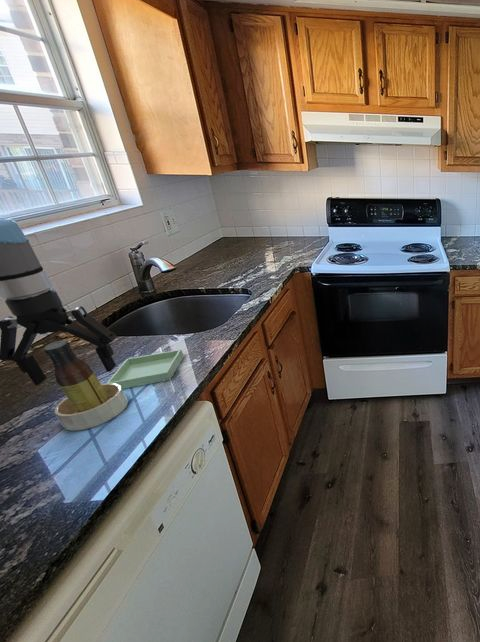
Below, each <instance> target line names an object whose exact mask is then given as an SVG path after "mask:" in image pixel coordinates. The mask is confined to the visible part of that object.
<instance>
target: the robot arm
mask: <svg viewBox="0 0 480 642" xmlns="http://www.w3.org/2000/svg"><path fill="white" fill-rule="evenodd" d="M52 287H53V284H52V282H51V280H50V278H49V277H48V274H47V273H46V271H45V269H44V267H43V266H42V264H41V262H40V260H39V258H38V256H37V254H36V252H35V251H34V249H33V247H32V245H31V243H30V239H29V238H28V237H27V236H26V235H25V233H24V232H23V230H22V228H21V227H20V225H19V223H17V221H15V220H13V219H12V218H7V217H5V218H4V217H2V218H1V217H0V297H1V298H3V299H5V301H4V303H5V305H6V306H7V308H8V310H9V311H10V312H11V314H12V315H13V316H15V317H13V316H11V315H9V316H8V315H7V316H6V317H4V318H3V319H1V320H0V361H1V362H6V361H12V362H15V364H16V366H17V367H18V368H19V370H20V371H21V372H22V373H25V374H27V375H28V377H29V378H30V379H31V381H32V382H33V385H34V386H38V385H39V386H40V385H41V384H42V383H43V382H44V381H45V380H46V379H47V376H46V375H45V373H44V371H43V370H42V367H41V366H40V364H39V363H38V361H37V360H36V359H35V356H34V355H33V354H29V350H30V349H31V347H32V344H33V343H34V341H35V339H36V337H37V336H38V334H39V336H40V335H46V334H48V333H53V334H54V333H58V332H59V331H60V332H62V333H64V334H70V335H72V336H75V337H77V338H79V339H81V340H83V341H85V342H87V343H90V344H92V345H94V346H96V347H95V348H94V351H95V352H96V354H97V356H98V358H99V359H100V361H101V363H102V365H103V367H104V369H105V370H106V372H107V373H109V372H112V370H114V368H115V367H116V366H117V364H116V362H115V360H114V358H113V355H115V351H114V350H113V348H112V346H111V344H112V342H114V341H115V339H116V338H117V337H118V336H117V334H116V333H114V332H113V331H111V330H110V329H109V328H107V327H106V326H105V325H104V324H102V323H101V322H99V320H97V319H95V318H94V317H93V316H91V315H90V314H89V313H88V312H87V311H86V309H85V307H83V306H81V305H79V306H77V307H75V308H72V309H69V310H68V309H66V308H65V307H64V305H63V302H62V299H61V298H60V296H59V294H58V292H57V291H56V289H54V288H52ZM75 320H76V321H75ZM18 326H21V327H23V328H25V330H24V332H23V334H22V338H21V339H20V341H19V344H18V345H17V347H16V343H17V331H18Z"/></svg>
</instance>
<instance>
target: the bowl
mask: <svg viewBox="0 0 480 642" xmlns="http://www.w3.org/2000/svg"><path fill="white" fill-rule="evenodd" d="M101 385H102V387H103V388H104V390H105V392H106V393H107V395H108V397H109V398H110V399H109V400H108V401H107V402H105V403H103V404H101V405H99V406H97V407H95V408H92V409H90V410H87V411H84V412H80V413H77V411H76V410H75V408H74V407H73V405H72V404H71V402H70V401H69V399H68V398H67V397H66V398H64V399H62V400H61V401H60V402H59V403H58V404H57V405H56V406H55V407H54V414H55V417H56V418H57V420H58V421H59V423H60V425H61V426H62V427H63V428H64V429H65V430H67V431H73V432H74V431H75V432H76V431H82V430H88V429H91V428H94V427H98V426H99V425H102V424H104V423H106V422H108V421H110V420H112V419H113V418H115V417H117V416H119V414H121V413H122V412H123V411H124V410H125V409H126V408H127V407H128V404H129V401H128V397H127V395H126V393H125V391H124V389H122V387H121V386H120V385H118V384H116V383H107V382H106V383H101Z"/></svg>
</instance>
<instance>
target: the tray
mask: <svg viewBox="0 0 480 642" xmlns="http://www.w3.org/2000/svg"><path fill="white" fill-rule="evenodd" d="M184 357H185V355H184V353H183V350H182V349H181V348H180V349H176V350H174V349H173V350H169V351H164V352H163V351H162V352H158V353H151V354H146V355H141V356H134V357H129V358H126V359H125V360H124V362H123V363H122V364H121V365H120V366H119V368H117V370H116V371H115V372H114V373H113V375H112V376H111V377H110V378H109V379H108V380H107V382H106V383H116V384H118V385H120V386H121V387H122V389H123V390H124V389H130V388H133V387H134V388H135V387H140V386H145V385H150V384H154V383H160V382H165V381H171V379H172V377H173V376H174V374H175V372H176V370H177V369H178V367H179V365H180V363H181V362H182V360H183V358H184Z"/></svg>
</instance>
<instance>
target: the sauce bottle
mask: <svg viewBox="0 0 480 642" xmlns="http://www.w3.org/2000/svg"><path fill="white" fill-rule="evenodd" d="M43 351H44V352H45V355H47V356H49V358H50V360H51V362H52V364H53V367H54V376H55V381H56V383H57V384H58V386H59V388H60V389H61V390H62V392H63V393H64V395H65V396H66V398H68V399H69V401H70V402H71V404H72V405H73V407H74V408H75V410H76V411H77V413H80V412H84V411H87V410H90V409H92V408H95V407H97V406H99V405H101V404H103V403H105V402H107V401H108V400H109V399H110V398H109V397H108V395H107V393H106V392H105V390H104V388H103V387H102V385H101V384H102V383H101V382H100V380H99V379H98V376H97V375H96V374H95V372H94V371H93V370H92V368H91V367H90V365H89V363H87V361H85V360H84V359H82V358H80V357H78V356H77V355H76V354H75V353H74V351H73V349H72V348H71V344H70V343H69V341H68V340H64V339H63V340H57V341H54V342H51V343H49V344H47V345H45V346H44V347H43Z"/></svg>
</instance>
